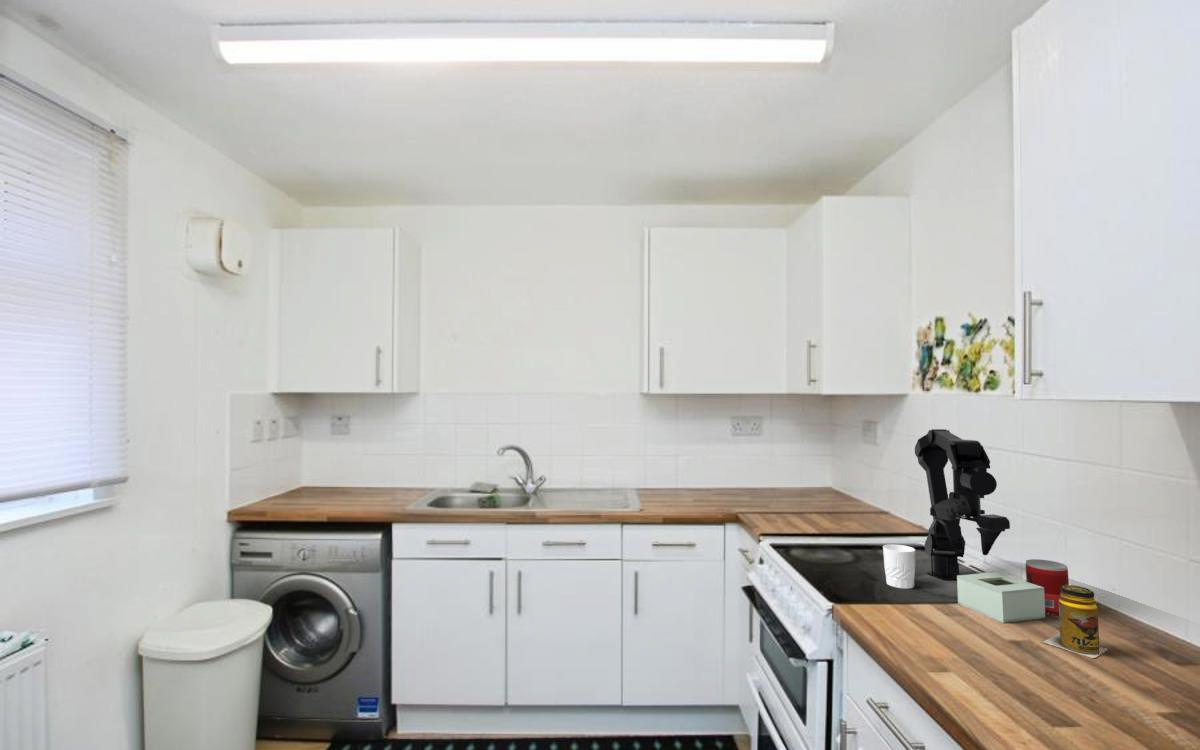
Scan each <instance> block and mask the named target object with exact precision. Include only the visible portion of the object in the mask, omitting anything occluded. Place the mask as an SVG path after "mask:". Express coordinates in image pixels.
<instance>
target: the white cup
mask: <svg viewBox="0 0 1200 750" xmlns="http://www.w3.org/2000/svg"><path fill="white" fill-rule="evenodd" d="M882 552H883V565H884V573H885V581H886V584H887V585H888V586H890V587H893V588H898V589H905V590H907V589H913V588H915V576H916V549H915V548H914V547H912V546H909V545H908V546H907V545H903V544H893V543H892V544H885V545H883V546H882Z"/></svg>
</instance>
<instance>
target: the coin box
mask: <svg viewBox="0 0 1200 750" xmlns="http://www.w3.org/2000/svg"><path fill="white" fill-rule="evenodd" d="M956 583H957V584H956V585H957V586H956V589H957V604H958V605H959V606H962V607H964V608H966V609H968V610H971V611H973V612H975V613H978V614H980V615H983V616H986V617H988V618H990V619H993V620H995V621H997V622H1000V623H1003V624H1006V623H1008V624H1009V623H1015V622H1025V621H1033V619H1034V620H1042V619H1041V618H1043V619H1046V614H1045V597H1044V587H1041V586H1038V585H1035V584H1032V583H1029V582H1026V581H1025V580H1022V579H1019V578H1016V577H1014V576H1013V577H1012V576H1009V575H1008V574H1007V575H1006V574H1003V573H1000V572H997V571H994V572H985V573H984V572H982V573H971V574H959V575H958V576H957V579H956ZM1000 584H1002V585H1000ZM995 585H1000V586H995Z"/></svg>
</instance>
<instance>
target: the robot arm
mask: <svg viewBox="0 0 1200 750" xmlns="http://www.w3.org/2000/svg"><path fill="white" fill-rule="evenodd" d="M926 433H927V434H925V435H923V436H922V437H920V438H919V439H917V442H916V444H915V446H914V454H915V457H916V458H917V462H918V465H920V467H921V468H922V469H923V470H924V471H925V474H926V480H927V481H926V482H927V487H928V488H927V489H928V494H929V499H930V501H929V502H930V508H929V513H930V514H929V516H932V522H931V524H930V526H929V527H928V534H927V537H926V539H925V542H924V544H923V545H924V552H925V553H927V554H928V555H929V556H930V567H931V570H929V571H926V574H928V575H931V576H932V577H935V578H938V579H941V580H943V581H949V580H957V576H958V575H960V567H959V566H960V564H959V559H958V558H964V555H965V551H966V543H967V542H966V540H965V537H964V536H963V534H962V527H961V526H960V524H961V519H962V520H966V521H970V522H974V523H976V525H977V526H978V527H976V528H975V529H976V530H977V532H978V533H979V534H980V544H981V545H980V546H981V553H982V555H983V556H988V555H989V553H990V551H991V549H992V548H993V546H994V543H995V542H996V540H997V538H999V536H1000V535H1001V534H1002V532H1006V530H1010V529H1011V523H1010V522H1011V521H1010V519H1009V518H1008V517H1006V516H1004V515H998V514H986V510H985V509H982V508H981V499H985V496H989V495H992V493H994V492H995V491H996V488H997V487H998V486H997V485H998V484H997V483H998V482H997V480H996V478H995V477H994V476H993V474H992V473H990V472H987V471H988V470H987V469H991V466H990V464H991V461H990V458H989V456H988V453H987V452H986V450H985V448H984V446H983V445H982V443H981V442H980V441H979V440H974V439H973V440H972V439H962V438H961V437H959V436H957V435H955V434H954V433H952V432H951V431H950V430H949V429H944V428H941V429H940V428H938V429H935V428H934V429H929V430H928V432H926ZM948 462H950V464H951V469H952V483H953V491H949V493H948V487H947V482H946V475H945V471H944V470H945V467H946V465H947V464H948Z"/></svg>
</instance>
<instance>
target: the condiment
mask: <svg viewBox="0 0 1200 750" xmlns="http://www.w3.org/2000/svg"><path fill="white" fill-rule="evenodd" d="M1060 590H1061V593H1060V597H1061V598H1060V599H1059V615H1058V617H1059V633H1056V634H1054V635H1053V636H1052V637H1050V638H1048V639H1045V640H1044V641H1042V643H1044V644H1048V645H1049V646H1054V647H1057V648H1059V649H1062V650H1066V651H1069V652H1071V653H1075V654H1078V655H1080V656H1084V657H1087V658H1091V659H1095V658H1098V657H1099V656H1101V655H1103V654H1104V653H1105V652H1106V651H1108V650H1109V649H1108V648H1106V647H1102V646H1101V645H1100V630H1099V619H1098V618H1099V609H1098V606H1097V605H1096V604H1097V603H1096V599H1095V592H1094V591H1093V590H1092V589H1089V588H1087V587H1083V586H1080V585H1073V584H1069V585H1063V586H1061V588H1060ZM1099 650H1100V651H1101V655H1100V654H1099V653H1100V651H1099ZM1102 652H1103V653H1102ZM1096 654H1097V655H1096Z"/></svg>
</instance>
